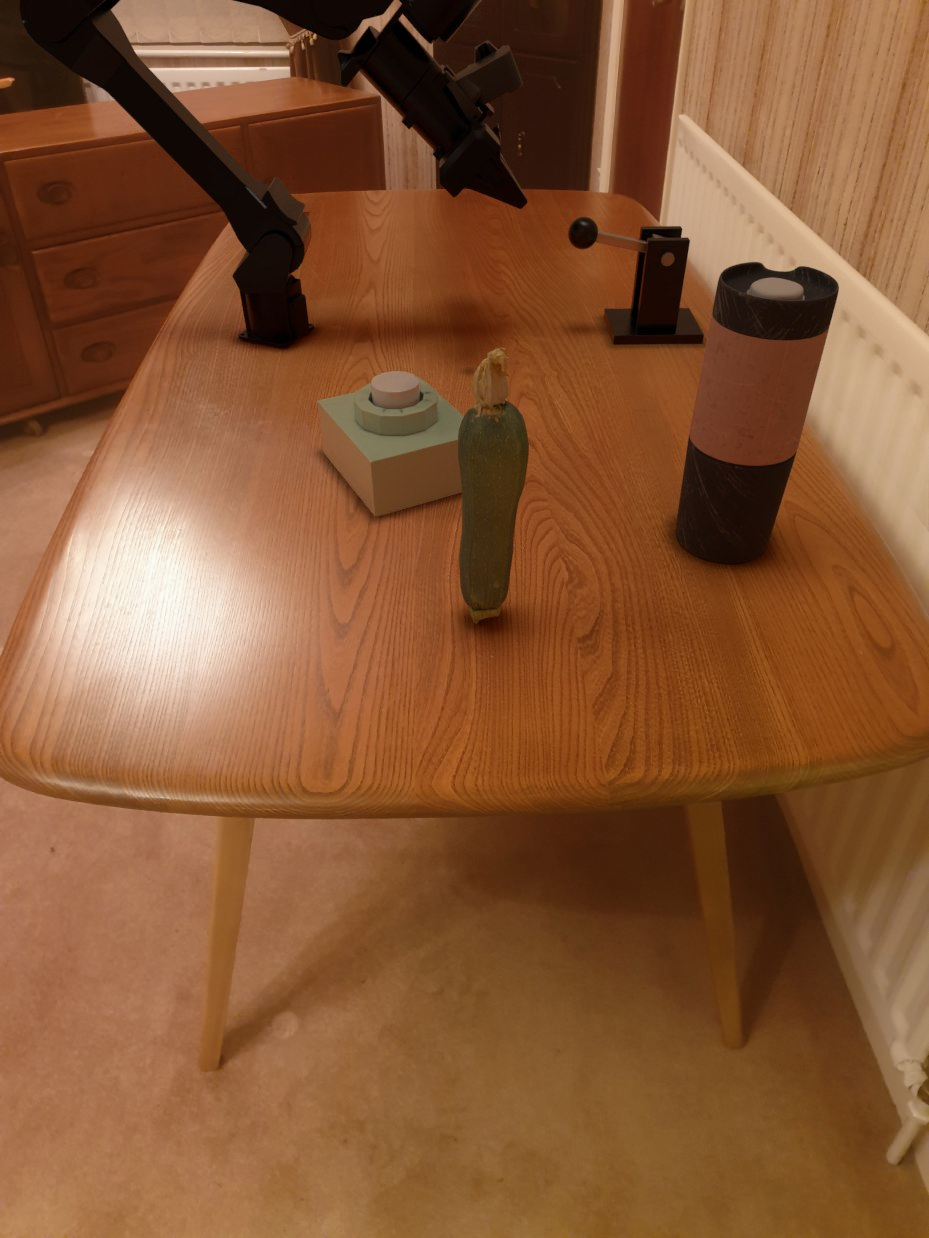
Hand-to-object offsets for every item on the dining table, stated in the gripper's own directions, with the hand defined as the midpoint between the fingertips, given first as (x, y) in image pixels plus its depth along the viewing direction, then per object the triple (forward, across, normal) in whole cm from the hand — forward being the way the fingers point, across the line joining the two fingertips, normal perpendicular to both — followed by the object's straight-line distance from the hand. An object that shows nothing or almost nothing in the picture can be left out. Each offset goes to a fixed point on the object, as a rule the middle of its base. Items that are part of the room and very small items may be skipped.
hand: (524, 204), depth 91 cm
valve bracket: (+20, 0, -1) cm, 21 cm away
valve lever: (+11, 0, -3) cm, 12 cm away
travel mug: (+19, -41, 0) cm, 46 cm away
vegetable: (+6, -50, +14) cm, 53 cm away
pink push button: (-4, -30, +14) cm, 34 cm away
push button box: (+1, -30, +18) cm, 36 cm away
